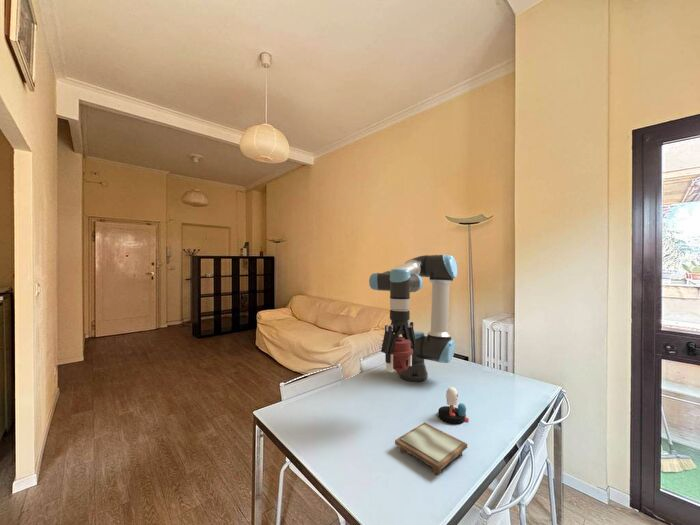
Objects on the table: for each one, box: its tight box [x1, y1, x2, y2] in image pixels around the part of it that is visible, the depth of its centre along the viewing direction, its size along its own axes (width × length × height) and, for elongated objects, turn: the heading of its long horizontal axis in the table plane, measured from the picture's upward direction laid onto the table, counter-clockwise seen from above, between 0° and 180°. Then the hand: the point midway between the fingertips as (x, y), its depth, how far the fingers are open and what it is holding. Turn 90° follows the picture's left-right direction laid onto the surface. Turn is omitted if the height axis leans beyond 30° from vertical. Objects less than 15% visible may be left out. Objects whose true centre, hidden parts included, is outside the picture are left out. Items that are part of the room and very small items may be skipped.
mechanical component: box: [391, 336, 413, 374], centre depth 110 cm, size 12×10×10 cm
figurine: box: [437, 386, 470, 426], centre depth 112 cm, size 10×11×12 cm
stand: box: [394, 421, 468, 475], centre depth 92 cm, size 16×16×4 cm
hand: (399, 368), depth 109 cm, fingers closed on mechanical component, 10 cm apart
